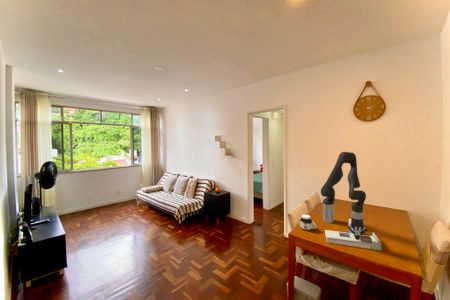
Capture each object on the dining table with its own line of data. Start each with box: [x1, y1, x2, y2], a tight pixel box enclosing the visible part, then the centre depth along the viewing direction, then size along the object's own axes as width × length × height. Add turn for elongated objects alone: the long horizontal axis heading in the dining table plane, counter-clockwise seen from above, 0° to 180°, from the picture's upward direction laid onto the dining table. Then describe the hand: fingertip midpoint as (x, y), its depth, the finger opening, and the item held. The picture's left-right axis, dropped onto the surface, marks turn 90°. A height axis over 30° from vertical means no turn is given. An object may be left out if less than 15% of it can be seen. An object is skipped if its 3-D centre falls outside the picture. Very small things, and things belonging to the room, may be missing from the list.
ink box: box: [348, 218, 363, 233], centre depth 160 cm, size 9×5×12 cm, turn 92°
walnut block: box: [360, 234, 372, 243], centre depth 143 cm, size 6×6×4 cm
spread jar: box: [299, 214, 317, 231], centre depth 173 cm, size 12×11×12 cm
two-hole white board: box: [324, 229, 382, 251], centre depth 150 cm, size 16×34×6 cm, turn 67°
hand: (357, 239), depth 145 cm, fingers closed
